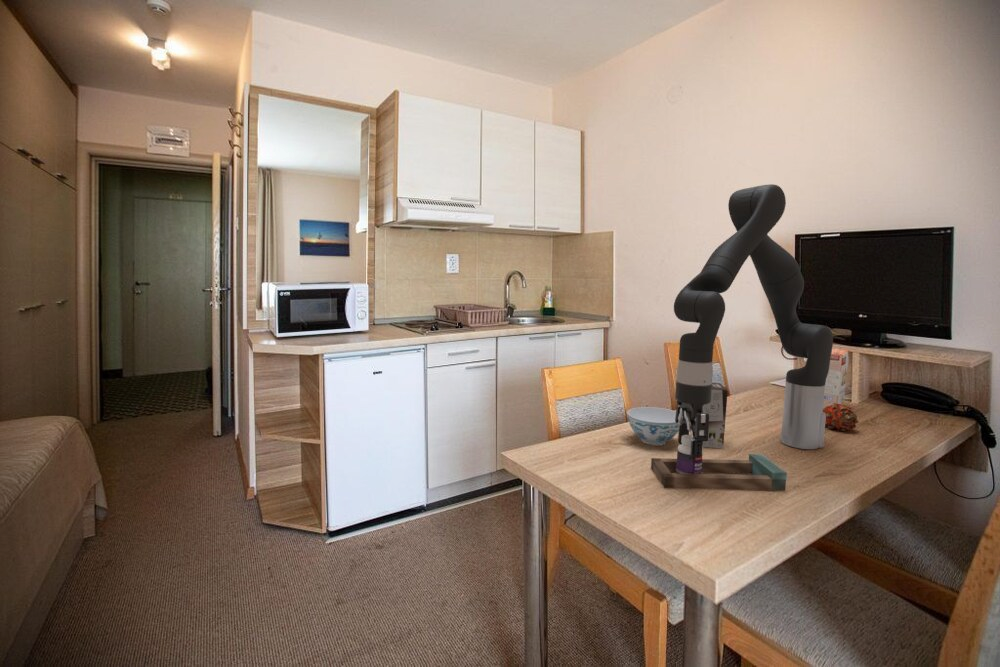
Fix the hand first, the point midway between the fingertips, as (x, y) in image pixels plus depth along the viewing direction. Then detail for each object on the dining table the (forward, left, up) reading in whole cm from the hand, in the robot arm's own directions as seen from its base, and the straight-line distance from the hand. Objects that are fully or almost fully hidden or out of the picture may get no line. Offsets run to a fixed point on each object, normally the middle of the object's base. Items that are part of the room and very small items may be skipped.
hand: (689, 450), depth 115 cm
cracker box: (-69, -60, -7) cm, 92 cm away
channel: (-6, 0, -7) cm, 9 cm away
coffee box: (-14, -25, -7) cm, 30 cm away
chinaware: (+1, -25, -7) cm, 26 cm away
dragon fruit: (-58, -40, -7) cm, 71 cm away
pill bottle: (0, 0, -7) cm, 7 cm away
